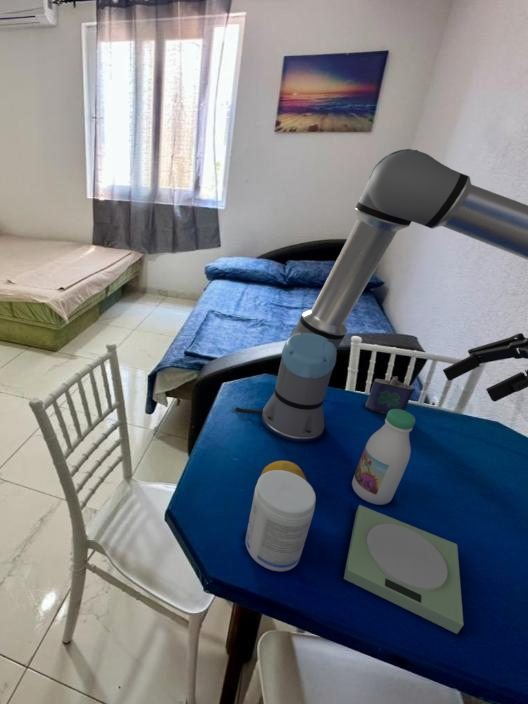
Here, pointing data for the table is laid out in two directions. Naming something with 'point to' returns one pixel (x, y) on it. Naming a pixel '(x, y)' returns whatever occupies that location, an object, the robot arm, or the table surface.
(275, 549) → the supplement tub
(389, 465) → the milk bottle
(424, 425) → the table surface
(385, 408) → the flask
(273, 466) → the fruit
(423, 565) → the scale
